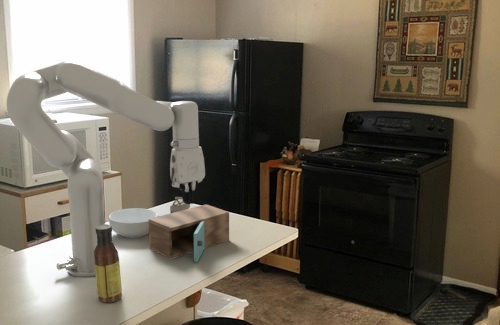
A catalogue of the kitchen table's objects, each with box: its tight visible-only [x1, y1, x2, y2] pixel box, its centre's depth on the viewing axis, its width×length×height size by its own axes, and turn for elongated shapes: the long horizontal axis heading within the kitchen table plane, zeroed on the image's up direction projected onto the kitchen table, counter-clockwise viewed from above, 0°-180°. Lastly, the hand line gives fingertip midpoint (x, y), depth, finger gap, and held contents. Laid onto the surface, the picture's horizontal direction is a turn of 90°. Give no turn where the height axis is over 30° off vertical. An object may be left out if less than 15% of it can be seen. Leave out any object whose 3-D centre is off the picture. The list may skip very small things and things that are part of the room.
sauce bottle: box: [94, 223, 123, 304], centre depth 145 cm, size 7×6×20 cm
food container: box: [169, 196, 191, 213], centre depth 201 cm, size 12×6×10 cm, turn 179°
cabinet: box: [148, 203, 230, 259], centre depth 185 cm, size 24×12×10 cm, turn 134°
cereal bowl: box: [108, 207, 159, 239], centre depth 195 cm, size 17×17×7 cm
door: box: [193, 221, 206, 263], centre depth 175 cm, size 12×2×9 cm, turn 174°
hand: (188, 203), depth 170 cm, fingers closed
